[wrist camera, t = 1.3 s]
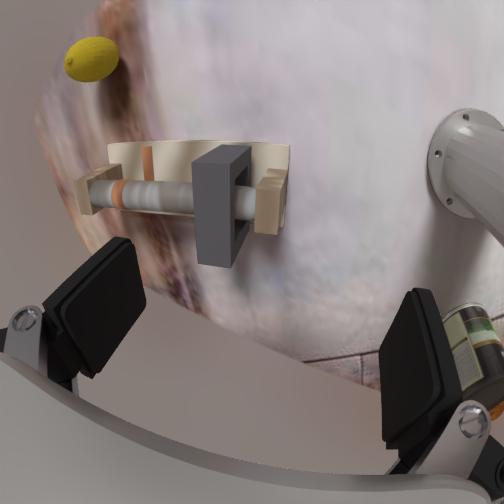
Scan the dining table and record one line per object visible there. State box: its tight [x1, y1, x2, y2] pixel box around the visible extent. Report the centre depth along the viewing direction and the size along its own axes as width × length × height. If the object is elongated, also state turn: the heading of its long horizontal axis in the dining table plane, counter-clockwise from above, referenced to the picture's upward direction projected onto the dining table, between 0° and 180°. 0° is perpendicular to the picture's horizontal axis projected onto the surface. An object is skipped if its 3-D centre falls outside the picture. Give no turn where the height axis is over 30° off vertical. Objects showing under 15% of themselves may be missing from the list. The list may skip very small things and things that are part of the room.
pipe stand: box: [74, 140, 290, 235], centre depth 28 cm, size 22×9×8 cm, turn 88°
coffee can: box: [442, 303, 504, 411], centre depth 28 cm, size 10×10×14 cm
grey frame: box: [191, 144, 252, 268], centre depth 25 cm, size 3×9×8 cm, turn 178°
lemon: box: [64, 37, 119, 82], centre depth 21 cm, size 6×6×8 cm
